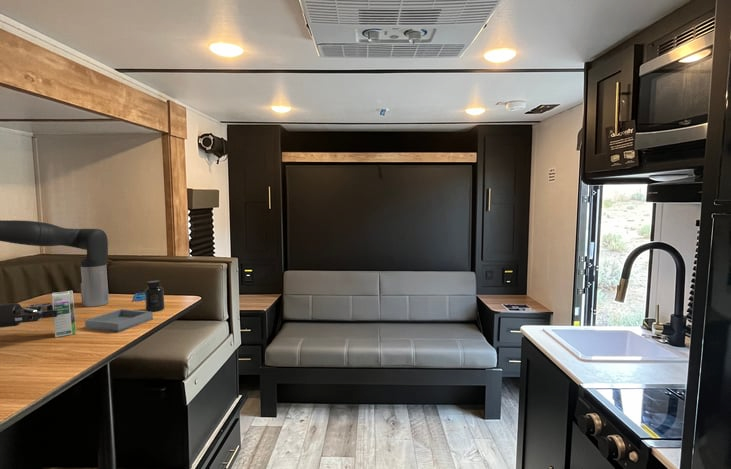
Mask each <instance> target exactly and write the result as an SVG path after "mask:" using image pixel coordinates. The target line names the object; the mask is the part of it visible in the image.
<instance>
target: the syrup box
mask: <svg viewBox="0 0 731 469" xmlns="http://www.w3.org/2000/svg"><path fill="white" fill-rule="evenodd" d="M74 301H75V300H74V292H73V290H67V291H59V292H58V291H57V292H52V294H51V305H52V306H53V310H57V316H56V317H53V324H54V325H53V326H54V337H55V338H60V337H65V336H73V335H76V334H77V332H76V326H77V325H76V316H75V302H74Z"/></svg>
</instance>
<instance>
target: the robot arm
mask: <svg viewBox="0 0 731 469" xmlns="http://www.w3.org/2000/svg"><path fill="white" fill-rule="evenodd" d="M0 242H3V243H9V244H17V245H24V246H33V247H34V246H35V247H58V246H59V247H60V246H62V247H63V246H64V247H69V248H70V247H71V248H76V249H80V250H86V256H85V257H84V258H82V259H81V260H80V274H81V283H80V294H81V295H80V296H81V306H83V307H99V306H104V305H108V304H109V303H110V300H109V299H110V298H109V287H108V286H109V284H108V283H109V282H108V270H107V260H108V257H109V240H108V236H107V234H106V232H105V231H104V230H103V229H100V228H66V227H61V226H59V225H56V224H52V223H49V222H48V223H47V222H40V221H33V220H21V219H20V220H16V219H14V220H8V219H7V220H5V219H4V220H2V219H0ZM56 316H57V310H53V306H52V302H47V303H38V304H37V303H36V304H30V305H28V306H26V307H25V308H23V307H22V306H21V304H20V303H18V302H13V303H1V304H0V329H1V328H10V327H17V326H19V325H20V324H22V323H32V322H38V321H39V320H40V321H41V320H43V319H50V318H54V317H56Z"/></svg>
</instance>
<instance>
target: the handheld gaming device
mask: <svg viewBox="0 0 731 469" xmlns="http://www.w3.org/2000/svg"><path fill="white" fill-rule="evenodd" d="M143 300H144V301H145V292H137V293H135V294H134V297H133V301H135V302H142V301H143ZM133 301H132V302H133Z"/></svg>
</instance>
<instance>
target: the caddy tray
mask: <svg viewBox="0 0 731 469" xmlns="http://www.w3.org/2000/svg"><path fill="white" fill-rule="evenodd" d="M153 315H154V314H153V312H149V311H147V310H137V309H127V308H121V309H116V310H113V311H111V312H108V313H104V314H100V315H98V316H97V315H96V316H95V317H91V318H88V319H85V320H84V322H85V323H84V324H85V329H87V330H96V331H104V332H113V333H120V332H123V331H125V330H129V329H132V328H133V327H137V326H139V325H142V324H145V323H147V322H150V321H152V320H154V319H153V318H154V316H153Z"/></svg>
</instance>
